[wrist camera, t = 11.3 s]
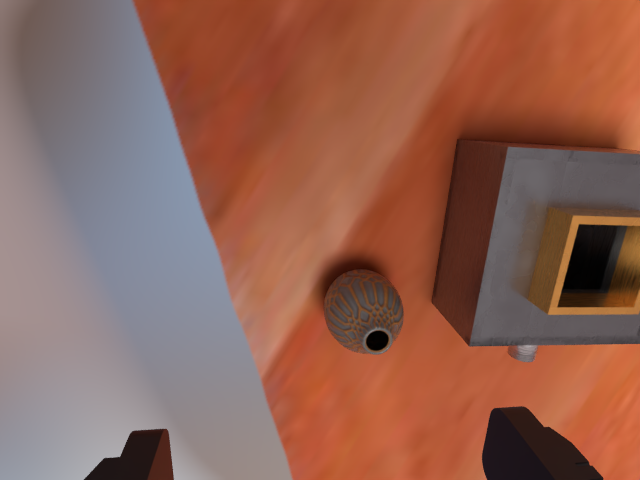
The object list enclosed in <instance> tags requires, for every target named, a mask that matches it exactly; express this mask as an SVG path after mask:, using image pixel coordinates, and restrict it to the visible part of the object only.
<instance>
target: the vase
mask: <svg viewBox="0 0 640 480" xmlns="http://www.w3.org/2000/svg"><path fill="white" fill-rule="evenodd" d="M324 315H325V320H326V323H327V326H328V328H329V330H330V332H331V334H332V335H333V336H334V338H335V339H336V340H337V341H338V342H339V343H340V344H341V345H343V346H344V347H345V348H347V349H349V350H351V351H354V352H357V353H363V354H369V353H370V354H381V353H384V352H386V351H387V350H388V349H389V348H390V346H391V345H392V343H393V342H394V341H395V339H396V338H397V337H398V335H399V333H400V331H401V328H402V324H403V316H404V314H403V305H402V301H401V298H400V296H399V294H398V292H397V290H396V289H395V287H394V286H393V285H392V284H391V283H390V282H389V281H388V280H387V279H386V278H385V277H383V276H382V275H380V274H378V273H376V272H374V271H370V270H365V269H357V270H351V271H348V272H346V273H344V274H342V275H340V276H339V277H338V278H336V279H335V280H334V282H333V283H332V284H331V285H330V287H329V289H328V291H327V293H326V296H325V301H324Z"/></svg>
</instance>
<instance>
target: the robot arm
mask: <svg viewBox="0 0 640 480" xmlns="http://www.w3.org/2000/svg"><path fill="white" fill-rule="evenodd" d="M482 463H483V468H484V472H485V475H486V478H487V480H603V477H602V476H601V475H600V474H599V473H598V472H597V470H596V469H595V468H594V467H593V466H590V465H589V462H588V460H587V459H586V458H585V457H584V456H583V455H582V454H581V453H580V452H579V450H578V449H577V448H576V447H575V446H574V445H573V444H572V443H571V442H570V441H568V440H567V439H566V438H564V437H563V436H561V435H560V434H559V433H557V432H556V431H554V430H553V429H551V428H550V427H543V425H542V424H541V423H540V422H539V421H538V420H537V418H536V417H535V416H534V415H533V414H532V413H531V412H530V410H529V409H527V408H526V407H522V406H521V407H506V408H494V409H493V410H492V411H491V414H490V418H489V423H488V428H487V433H486V438H485V443H484V448H483V453H482ZM84 480H174V478H173V469H172V459H171V451H170V440H169V433H168V430H167V429H154V430H140V431H132V433H131V434H130V435H129V438H128V440H127V442H126V445H125V447H124V449H123V452H122V454H121V456H120V457H116V458H104V459H103V460H102V461H101V462H100V463H99V464H98V465H97V466H96V467H95V468H94V470H93V471H92V472H91V473H90V474H89V475H88V476H87V477H86V478H85V479H84Z"/></svg>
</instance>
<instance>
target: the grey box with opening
mask: <svg viewBox="0 0 640 480" xmlns="http://www.w3.org/2000/svg"><path fill="white" fill-rule="evenodd" d="M432 303H433V305H434V306H435V307H436V308H437V309H438V310H439V312H440V313H441V314H442V315H443V316H444V317H445V319H446V320H447V321H448V322H449V323H450V324H451V326H452V327H453V328H454V329H455V330H456V331H457V333H458V334H459V335H460V336H461V337H462V338H463V340H464V341H465V342H466V343H467V344H468V346H509V347H508V354H509V355H510V356H511V357H513V358H515V359H517V360H519V361H523V362H532V361H534V360H535V357H536V353H537V349H538V345H589V344H640V151H636V150H626V149H616V148H598V147H581V146H564V145H546V144H529V143H511V142H494V141H477V140H459V139H457V145H456V152H455V158H454V164H453V171H452V177H451V183H450V190H449V196H448V202H447V209H446V215H445V221H444V228H443V234H442V240H441V247H440V253H439V259H438V266H437V272H436V278H435V285H434V291H433V297H432Z"/></svg>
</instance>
